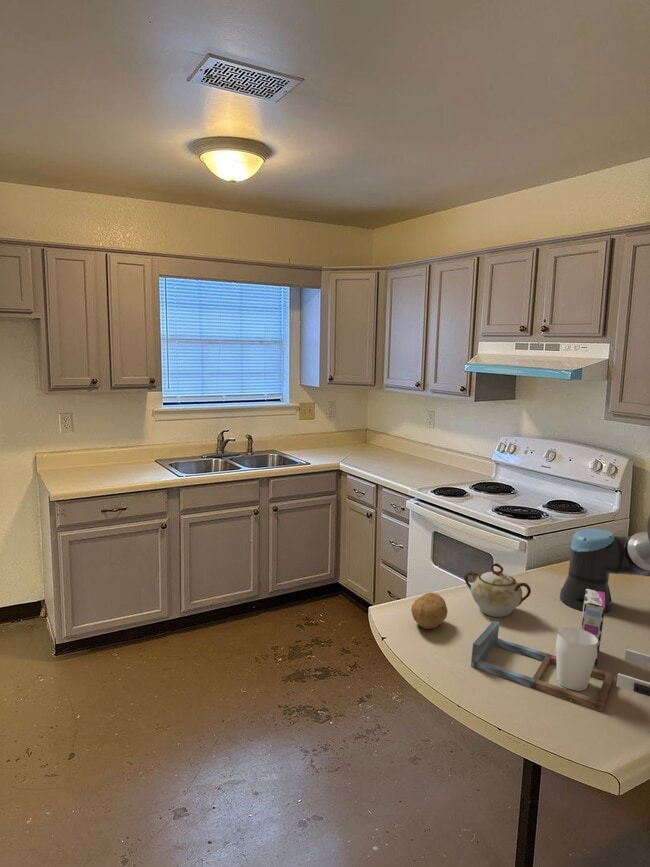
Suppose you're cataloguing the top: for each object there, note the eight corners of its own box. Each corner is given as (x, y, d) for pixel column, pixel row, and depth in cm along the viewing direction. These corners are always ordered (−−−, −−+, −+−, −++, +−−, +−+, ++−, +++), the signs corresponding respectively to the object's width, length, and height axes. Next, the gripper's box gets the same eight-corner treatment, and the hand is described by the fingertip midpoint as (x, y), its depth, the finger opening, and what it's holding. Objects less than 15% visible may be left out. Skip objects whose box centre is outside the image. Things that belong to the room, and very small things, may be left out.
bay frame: (613, 680, 143) (616, 656, 142) (602, 711, 130) (605, 686, 129) (491, 641, 159) (493, 620, 158) (470, 666, 146) (472, 643, 145)
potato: (403, 631, 163) (405, 603, 162) (418, 612, 175) (420, 586, 174) (438, 640, 159) (440, 612, 157) (450, 619, 171) (453, 593, 170)
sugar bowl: (454, 611, 177) (458, 563, 175) (469, 594, 190) (473, 549, 188) (521, 629, 167) (527, 579, 165) (533, 611, 180) (538, 564, 178)
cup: (596, 697, 136) (603, 648, 134) (555, 690, 137) (560, 642, 136) (587, 676, 144) (593, 630, 143) (548, 670, 146) (554, 624, 144)
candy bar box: (597, 669, 148) (605, 607, 145) (576, 663, 150) (583, 602, 148) (598, 649, 158) (605, 591, 156) (578, 645, 160) (585, 587, 158)
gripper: (732, 748, 113) (611, 707, 124) (730, 690, 134) (626, 659, 145) (738, 712, 112) (615, 674, 123) (735, 659, 133) (630, 631, 144)
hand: (621, 666), depth 134 cm, fingers open, 13 cm apart
